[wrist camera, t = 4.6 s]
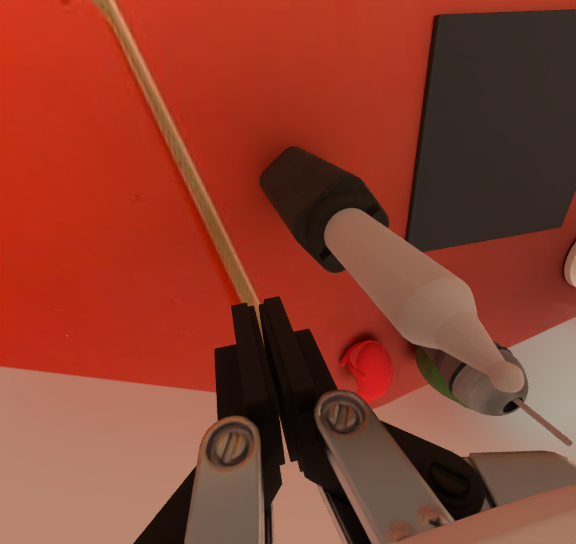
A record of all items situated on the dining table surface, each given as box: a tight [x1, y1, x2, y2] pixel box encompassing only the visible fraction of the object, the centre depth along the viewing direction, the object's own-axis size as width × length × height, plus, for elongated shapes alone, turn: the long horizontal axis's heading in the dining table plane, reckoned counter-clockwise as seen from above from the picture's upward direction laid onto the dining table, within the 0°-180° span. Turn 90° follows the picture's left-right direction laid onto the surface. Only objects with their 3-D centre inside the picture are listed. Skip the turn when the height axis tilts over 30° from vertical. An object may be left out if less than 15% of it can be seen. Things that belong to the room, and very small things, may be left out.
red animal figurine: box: [340, 340, 393, 402], centre depth 41 cm, size 8×6×6 cm
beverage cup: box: [421, 341, 572, 446], centre depth 33 cm, size 7×7×20 cm
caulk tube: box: [260, 146, 524, 393], centre depth 19 cm, size 5×5×25 cm
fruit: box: [416, 345, 471, 409], centre depth 40 cm, size 8×8×12 cm
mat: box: [405, 10, 576, 252], centre depth 33 cm, size 22×22×1 cm
